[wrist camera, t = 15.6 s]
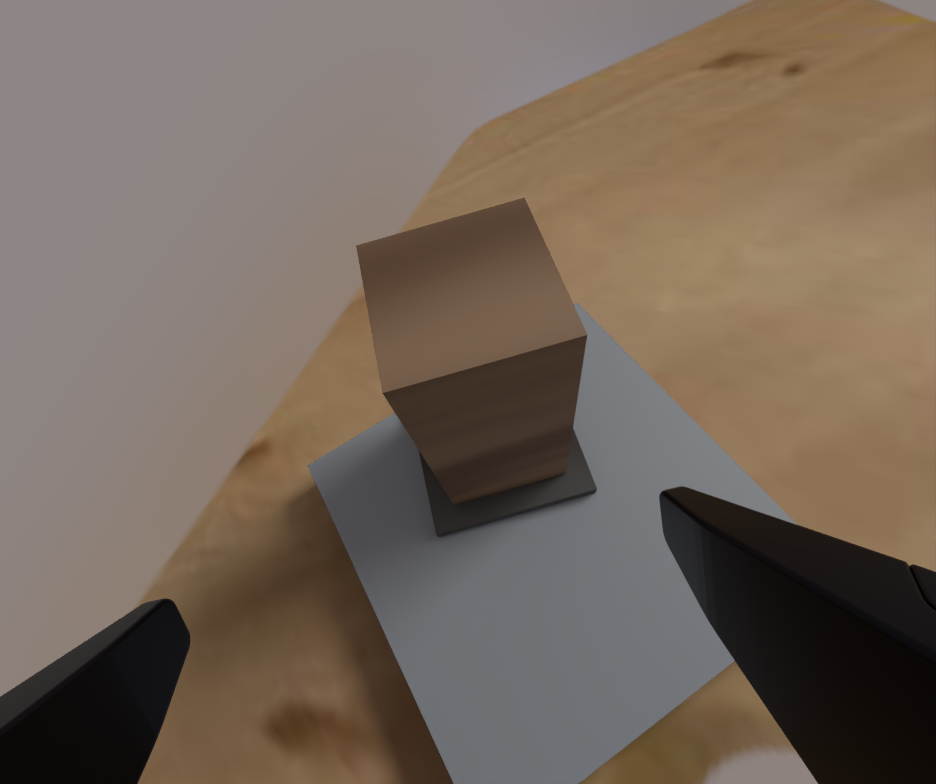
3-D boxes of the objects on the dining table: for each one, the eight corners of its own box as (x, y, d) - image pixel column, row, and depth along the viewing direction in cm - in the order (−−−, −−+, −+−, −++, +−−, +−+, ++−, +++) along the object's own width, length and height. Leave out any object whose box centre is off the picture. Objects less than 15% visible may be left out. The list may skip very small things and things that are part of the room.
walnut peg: (591, 504, 22) (646, 357, 11) (446, 545, 22) (346, 443, 11) (543, 380, 25) (547, 166, 14) (418, 415, 25) (319, 231, 14)
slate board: (818, 579, 19) (845, 573, 18) (492, 833, 17) (486, 855, 15) (574, 324, 27) (577, 302, 25) (324, 478, 24) (307, 465, 23)
